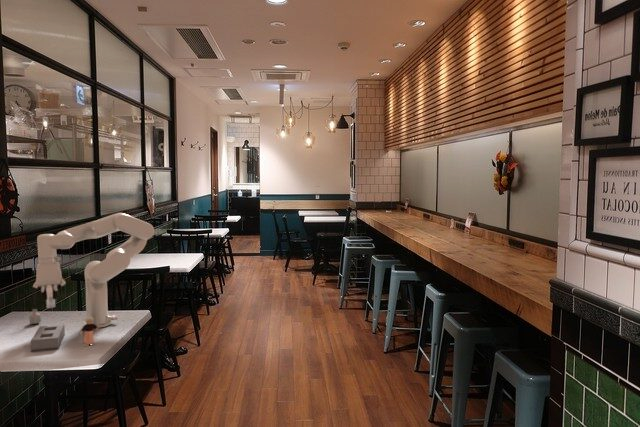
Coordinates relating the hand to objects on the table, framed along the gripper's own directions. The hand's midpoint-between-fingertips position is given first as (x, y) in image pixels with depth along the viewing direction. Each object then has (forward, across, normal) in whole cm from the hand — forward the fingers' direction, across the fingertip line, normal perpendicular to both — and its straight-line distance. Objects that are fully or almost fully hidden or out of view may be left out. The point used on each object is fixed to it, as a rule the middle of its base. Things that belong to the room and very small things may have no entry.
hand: (50, 299), depth 230 cm
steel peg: (+4, 0, 0) cm, 4 cm away
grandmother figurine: (+16, -18, +25) cm, 35 cm away
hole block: (+16, -1, +17) cm, 23 cm away
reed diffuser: (+16, +11, -17) cm, 25 cm away
